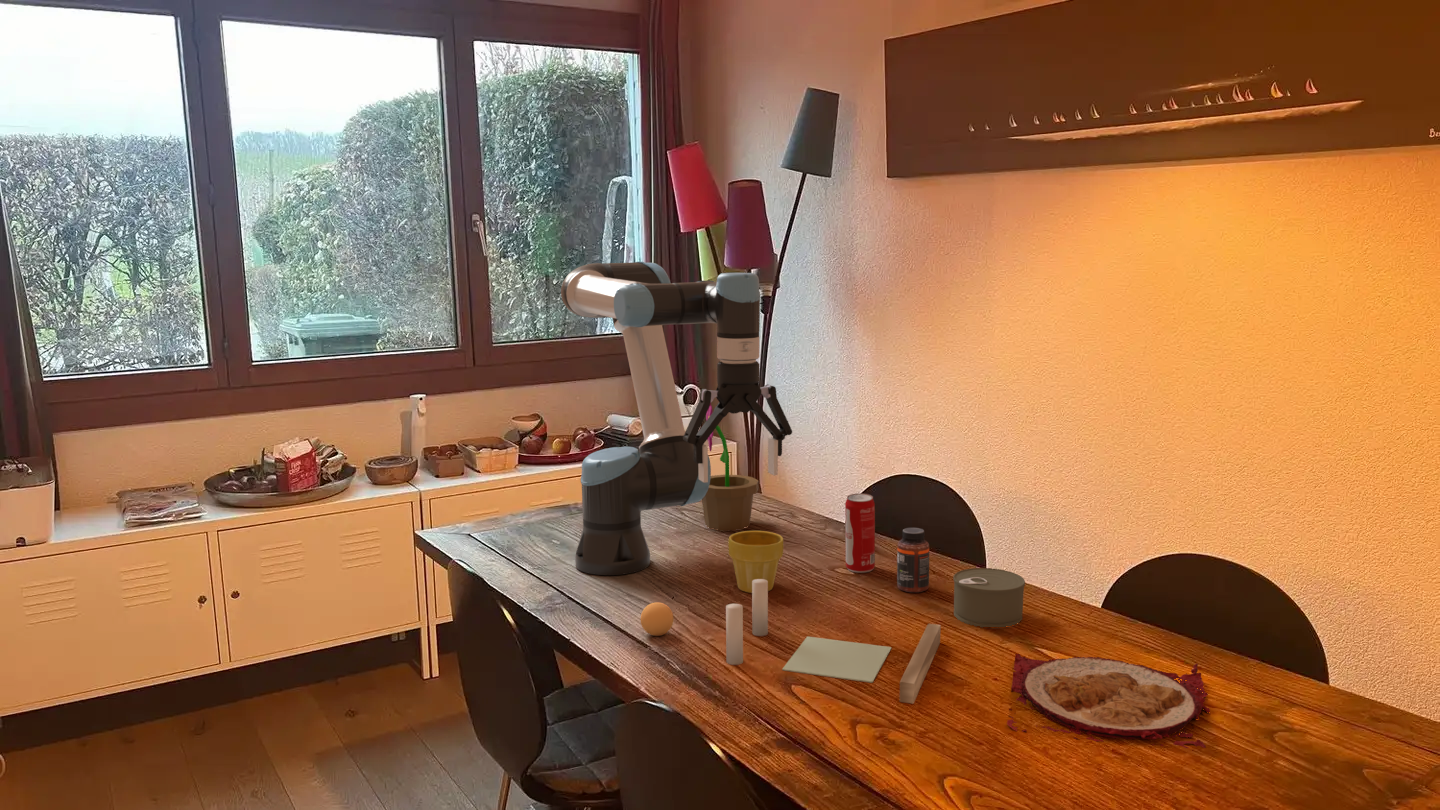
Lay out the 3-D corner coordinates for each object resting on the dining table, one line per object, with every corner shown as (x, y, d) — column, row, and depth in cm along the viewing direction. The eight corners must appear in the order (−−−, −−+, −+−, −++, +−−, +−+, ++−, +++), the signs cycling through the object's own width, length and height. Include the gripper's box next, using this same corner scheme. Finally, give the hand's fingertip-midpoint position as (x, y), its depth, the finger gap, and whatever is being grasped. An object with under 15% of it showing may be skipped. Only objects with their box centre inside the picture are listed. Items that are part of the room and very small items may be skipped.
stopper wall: (899, 701, 150) (899, 681, 150) (927, 641, 172) (928, 623, 172) (913, 703, 150) (913, 683, 149) (940, 642, 172) (940, 624, 171)
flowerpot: (693, 518, 249) (692, 392, 244) (754, 515, 250) (753, 390, 245) (699, 534, 235) (697, 401, 230) (763, 532, 236) (762, 400, 231)
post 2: (750, 634, 176) (749, 583, 174) (755, 629, 178) (754, 578, 177) (765, 636, 175) (764, 584, 173) (769, 631, 177) (769, 579, 176)
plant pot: (789, 581, 203) (789, 532, 201) (774, 599, 193) (774, 547, 191) (738, 576, 206) (738, 528, 204) (721, 593, 196) (720, 542, 195)
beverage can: (874, 564, 212) (875, 492, 210) (875, 574, 206) (876, 500, 204) (844, 563, 213) (845, 491, 211) (844, 574, 207) (845, 499, 204)
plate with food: (1015, 665, 165) (1015, 644, 164) (1200, 682, 156) (1201, 659, 156) (1005, 739, 142) (1006, 714, 141) (1222, 763, 133) (1223, 737, 133)
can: (1037, 624, 180) (1039, 585, 178) (974, 632, 176) (975, 593, 175) (999, 601, 191) (1001, 564, 190) (940, 608, 188) (941, 571, 186)
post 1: (724, 663, 164) (723, 608, 163) (729, 657, 167) (729, 602, 165) (739, 665, 163) (739, 610, 162) (745, 659, 166) (744, 604, 164)
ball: (635, 638, 175) (634, 606, 174) (649, 626, 180) (648, 596, 179) (665, 642, 173) (665, 610, 172) (678, 630, 178) (678, 599, 177)
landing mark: (782, 670, 162) (782, 668, 161) (807, 637, 174) (807, 636, 174) (872, 682, 157) (872, 681, 157) (891, 648, 170) (891, 647, 170)
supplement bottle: (932, 585, 199) (933, 527, 198) (924, 595, 194) (925, 536, 192) (901, 581, 202) (902, 524, 200) (892, 591, 197) (893, 532, 195)
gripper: (678, 367, 179) (680, 488, 182) (811, 359, 188) (809, 475, 192) (664, 361, 186) (666, 478, 189) (792, 354, 195) (791, 466, 198)
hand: (738, 477), depth 190 cm, fingers open, 13 cm apart
